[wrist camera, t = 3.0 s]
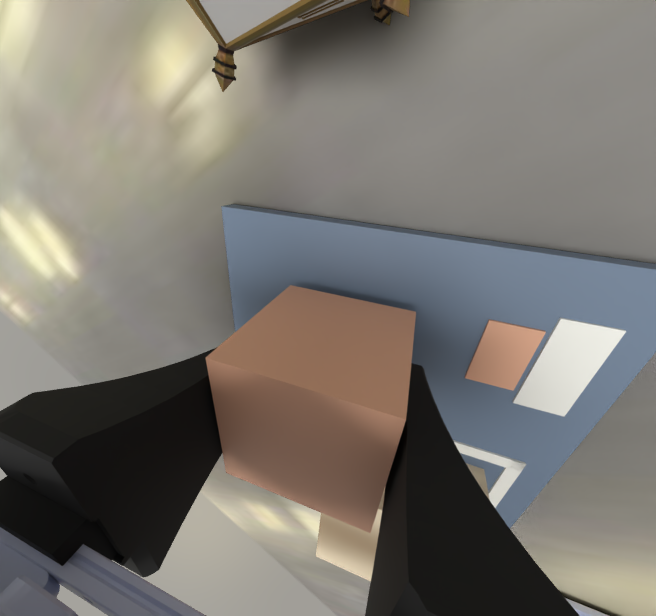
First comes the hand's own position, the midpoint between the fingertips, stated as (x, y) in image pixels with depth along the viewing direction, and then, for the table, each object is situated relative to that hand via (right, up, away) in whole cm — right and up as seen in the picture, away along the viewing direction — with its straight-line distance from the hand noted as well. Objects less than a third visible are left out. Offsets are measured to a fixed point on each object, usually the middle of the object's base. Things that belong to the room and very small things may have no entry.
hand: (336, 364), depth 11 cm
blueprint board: (+2, -4, +4) cm, 6 cm away
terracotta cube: (0, 0, +1) cm, 1 cm away
